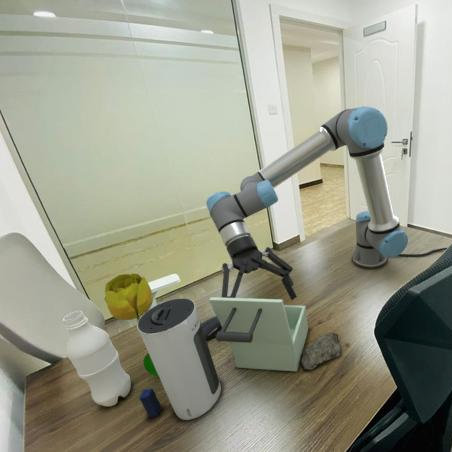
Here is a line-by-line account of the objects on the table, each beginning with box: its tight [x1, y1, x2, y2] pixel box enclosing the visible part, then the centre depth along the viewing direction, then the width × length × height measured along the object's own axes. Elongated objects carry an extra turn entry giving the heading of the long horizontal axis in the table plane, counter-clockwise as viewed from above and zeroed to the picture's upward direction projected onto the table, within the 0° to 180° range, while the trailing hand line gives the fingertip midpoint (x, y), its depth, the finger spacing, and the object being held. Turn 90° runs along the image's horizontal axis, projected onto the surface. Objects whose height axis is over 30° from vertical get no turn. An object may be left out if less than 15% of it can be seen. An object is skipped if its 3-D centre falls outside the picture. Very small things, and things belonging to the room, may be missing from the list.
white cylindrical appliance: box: [136, 297, 222, 421], centre depth 57 cm, size 11×10×26 cm
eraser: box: [139, 388, 162, 418], centre depth 58 cm, size 2×2×7 cm
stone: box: [300, 332, 342, 371], centre depth 72 cm, size 14×8×3 cm, turn 116°
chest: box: [229, 304, 309, 372], centre depth 74 cm, size 15×17×9 cm
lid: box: [208, 296, 293, 345], centre depth 57 cm, size 15×17×9 cm
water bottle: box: [62, 310, 132, 407], centre depth 59 cm, size 7×7×25 cm
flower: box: [104, 273, 159, 377], centre depth 63 cm, size 9×8×30 cm
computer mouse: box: [201, 315, 222, 342], centre depth 78 cm, size 12×17×4 cm
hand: (272, 310), depth 68 cm, fingers open, 13 cm apart
